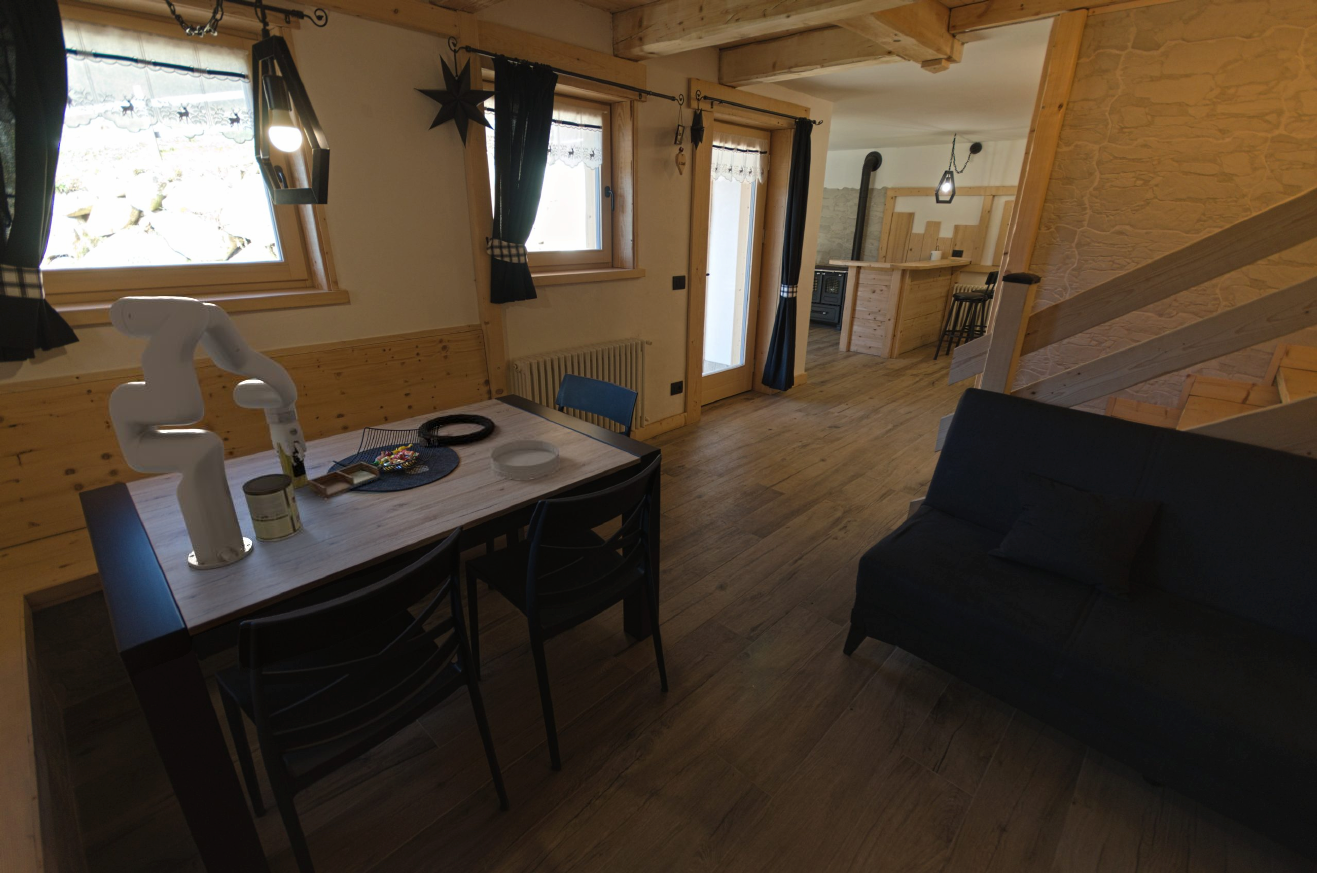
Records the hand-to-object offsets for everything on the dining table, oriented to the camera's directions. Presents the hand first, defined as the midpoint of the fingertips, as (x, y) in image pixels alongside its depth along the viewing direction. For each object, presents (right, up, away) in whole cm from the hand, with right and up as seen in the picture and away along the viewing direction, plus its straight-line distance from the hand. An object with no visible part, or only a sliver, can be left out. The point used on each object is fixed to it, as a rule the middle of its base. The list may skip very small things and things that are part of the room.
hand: (294, 472), depth 172 cm
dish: (+65, +1, +18) cm, 67 cm away
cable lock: (+33, +11, +43) cm, 55 cm away
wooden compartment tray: (+14, -4, +2) cm, 15 cm away
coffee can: (+11, -14, -24) cm, 30 cm away
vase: (0, -4, +1) cm, 4 cm away
